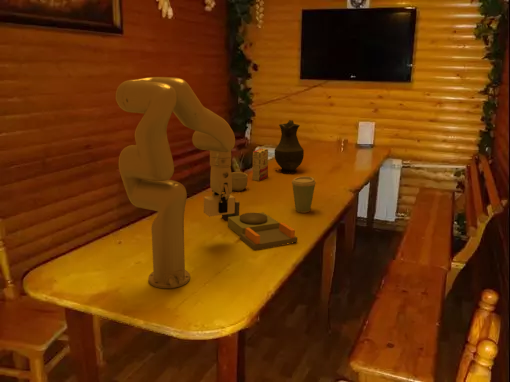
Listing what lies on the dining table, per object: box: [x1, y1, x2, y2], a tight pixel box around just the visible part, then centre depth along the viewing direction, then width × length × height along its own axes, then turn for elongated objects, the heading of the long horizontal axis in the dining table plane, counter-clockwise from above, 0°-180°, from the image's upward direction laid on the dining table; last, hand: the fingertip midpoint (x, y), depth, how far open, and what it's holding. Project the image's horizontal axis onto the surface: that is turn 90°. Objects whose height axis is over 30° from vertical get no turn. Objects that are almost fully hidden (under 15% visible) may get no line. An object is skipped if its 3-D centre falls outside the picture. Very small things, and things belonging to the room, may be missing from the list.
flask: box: [221, 199, 241, 222], centre depth 198 cm, size 9×3×11 cm, turn 50°
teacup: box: [231, 171, 249, 192], centre depth 245 cm, size 14×11×8 cm
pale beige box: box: [203, 194, 236, 217], centre depth 171 cm, size 5×10×6 cm, turn 119°
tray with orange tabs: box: [227, 211, 298, 251], centre depth 183 cm, size 26×18×5 cm
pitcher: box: [274, 119, 305, 174], centre depth 282 cm, size 17×21×30 cm
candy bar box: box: [252, 147, 269, 182], centre depth 265 cm, size 11×5×16 cm, turn 155°
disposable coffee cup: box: [291, 175, 317, 214], centre depth 212 cm, size 11×11×15 cm
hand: (219, 209), depth 172 cm, fingers closed on pale beige box, 5 cm apart
